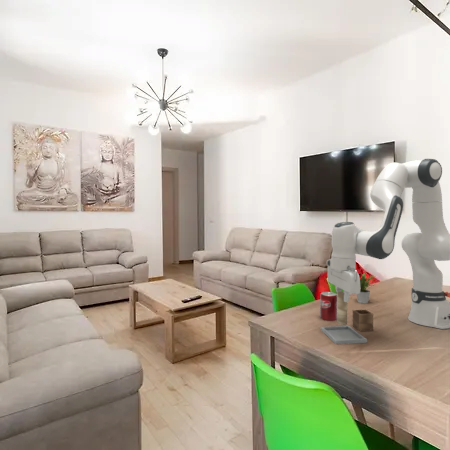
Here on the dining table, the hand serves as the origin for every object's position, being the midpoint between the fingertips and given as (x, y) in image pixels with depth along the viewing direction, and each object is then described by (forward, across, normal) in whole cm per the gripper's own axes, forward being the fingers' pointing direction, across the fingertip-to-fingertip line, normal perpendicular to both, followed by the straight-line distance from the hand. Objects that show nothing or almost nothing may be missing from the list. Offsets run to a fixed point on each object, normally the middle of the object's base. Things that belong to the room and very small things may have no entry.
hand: (342, 299), depth 124 cm
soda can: (+15, +20, -3) cm, 25 cm away
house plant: (+15, +43, -33) cm, 56 cm away
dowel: (+9, 0, 0) cm, 9 cm away
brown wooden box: (+15, +7, -12) cm, 20 cm away
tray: (+15, 0, 0) cm, 15 cm away
